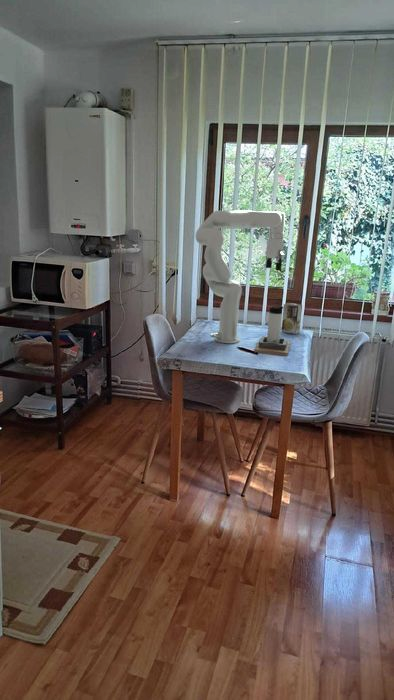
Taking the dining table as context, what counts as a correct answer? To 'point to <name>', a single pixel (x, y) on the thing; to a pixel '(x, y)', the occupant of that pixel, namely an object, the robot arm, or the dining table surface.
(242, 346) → the dining table surface
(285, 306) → the coffee box
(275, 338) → the travel mug
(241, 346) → the dining table surface
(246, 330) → the dining table surface
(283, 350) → the pocket board
